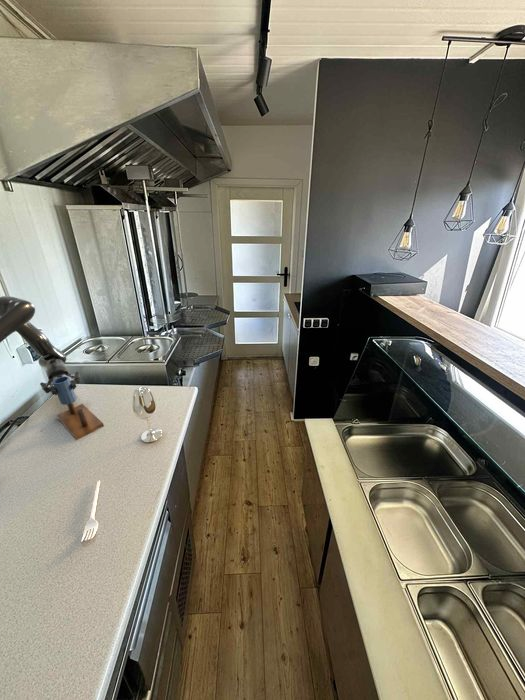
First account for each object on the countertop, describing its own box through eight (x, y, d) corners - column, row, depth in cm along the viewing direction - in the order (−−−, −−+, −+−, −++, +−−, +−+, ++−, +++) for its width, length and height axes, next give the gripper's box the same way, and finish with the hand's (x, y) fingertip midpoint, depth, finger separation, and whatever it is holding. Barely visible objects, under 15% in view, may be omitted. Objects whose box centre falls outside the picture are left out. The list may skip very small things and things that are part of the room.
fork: (105, 480, 90) (103, 476, 89) (95, 542, 73) (93, 537, 73) (93, 483, 89) (91, 479, 88) (81, 547, 72) (78, 542, 72)
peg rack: (76, 439, 107) (69, 422, 103) (57, 418, 118) (50, 401, 115) (103, 425, 114) (98, 408, 110) (83, 406, 125) (77, 390, 121)
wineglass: (137, 435, 108) (125, 391, 100) (157, 425, 113) (147, 382, 104) (145, 446, 103) (133, 401, 94) (166, 435, 108) (156, 391, 99)
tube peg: (72, 404, 114) (64, 383, 109) (58, 405, 114) (49, 384, 109) (79, 396, 119) (71, 375, 114) (65, 397, 118) (57, 376, 114)
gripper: (34, 371, 117) (39, 389, 106) (74, 360, 125) (82, 375, 114) (41, 387, 121) (46, 405, 109) (79, 375, 129) (88, 391, 117)
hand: (64, 390), depth 111 cm, fingers closed on tube peg, 5 cm apart
